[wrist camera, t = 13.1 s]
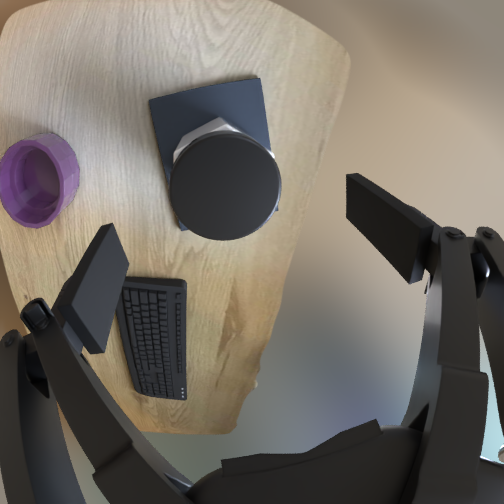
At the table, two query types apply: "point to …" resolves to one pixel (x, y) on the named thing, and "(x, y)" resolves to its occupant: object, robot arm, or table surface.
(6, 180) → the bowl
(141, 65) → the table surface
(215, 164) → the jar
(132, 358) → the keyboard
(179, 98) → the placemat
